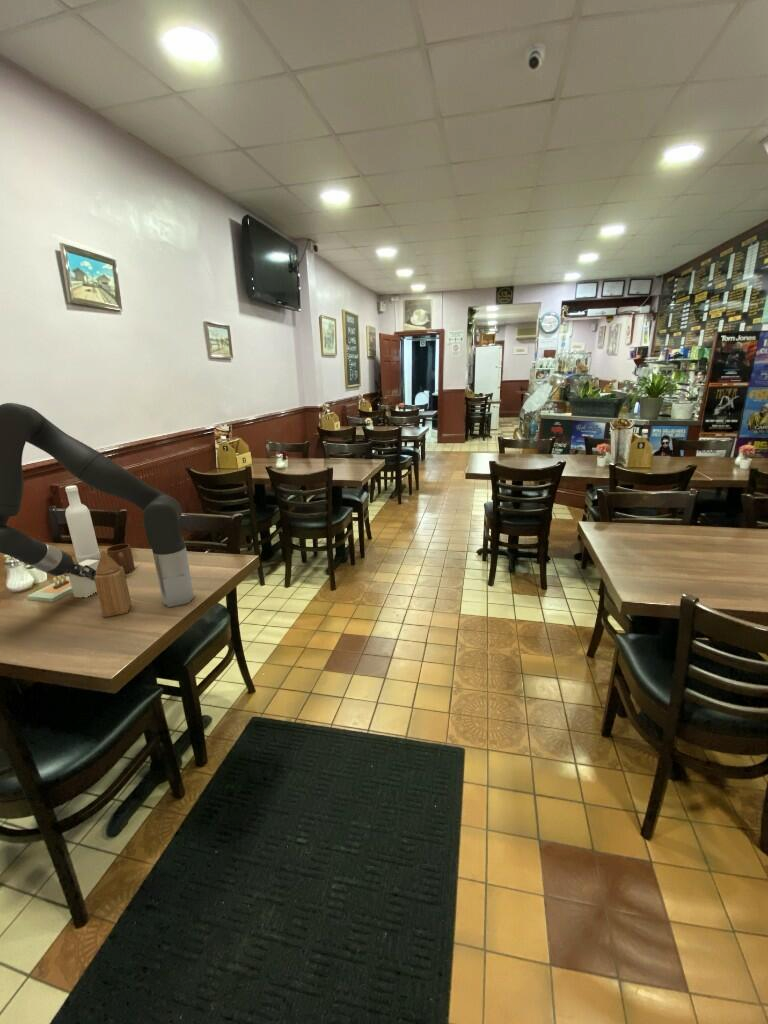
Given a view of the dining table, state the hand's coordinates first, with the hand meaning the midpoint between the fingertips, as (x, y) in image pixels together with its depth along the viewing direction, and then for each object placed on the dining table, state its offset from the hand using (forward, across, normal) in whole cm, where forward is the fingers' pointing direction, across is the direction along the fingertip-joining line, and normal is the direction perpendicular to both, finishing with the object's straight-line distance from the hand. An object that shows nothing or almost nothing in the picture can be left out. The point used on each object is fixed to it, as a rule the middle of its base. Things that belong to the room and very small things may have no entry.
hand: (91, 578), depth 145 cm
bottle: (+18, +24, -12) cm, 32 cm away
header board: (+2, +11, +4) cm, 12 cm away
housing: (+2, 0, +4) cm, 5 cm away
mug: (+12, 0, -6) cm, 14 cm away
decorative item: (-5, -20, +11) cm, 23 cm away
